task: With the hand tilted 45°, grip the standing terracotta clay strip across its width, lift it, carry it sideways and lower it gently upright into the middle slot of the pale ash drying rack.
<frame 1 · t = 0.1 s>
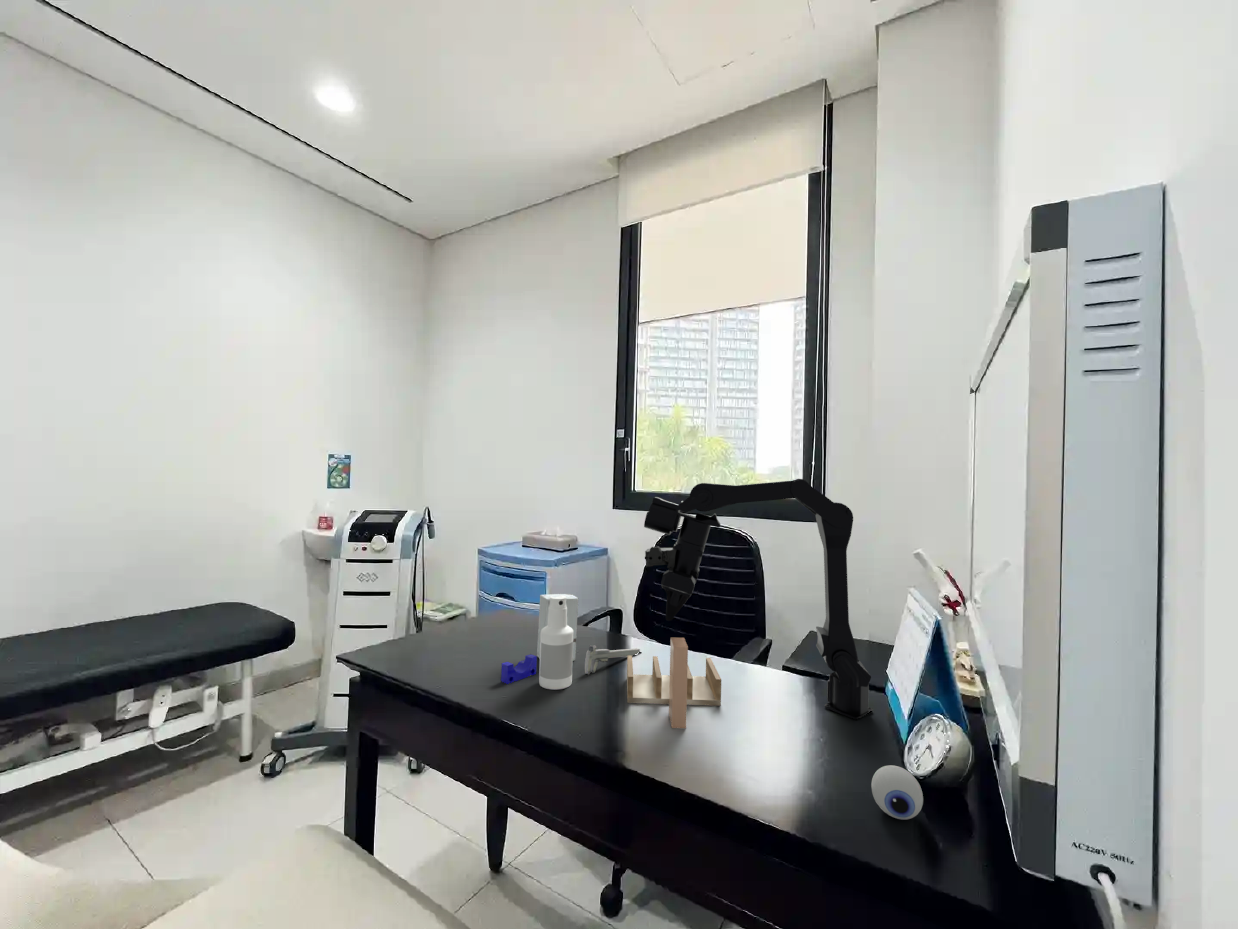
hand: (670, 614, 107), 15 cm above the table, tool pointing down, fingers open, 9 cm apart
caliper: (615, 664, 121), on the table
skincare box: (556, 659, 123), on the table
cable holder: (516, 678, 111), on the table
rack: (671, 691, 105), on the table
spray bottle: (555, 684, 108), on the table
eyeball: (896, 816, 68), on the table
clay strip: (677, 721, 93), on the table
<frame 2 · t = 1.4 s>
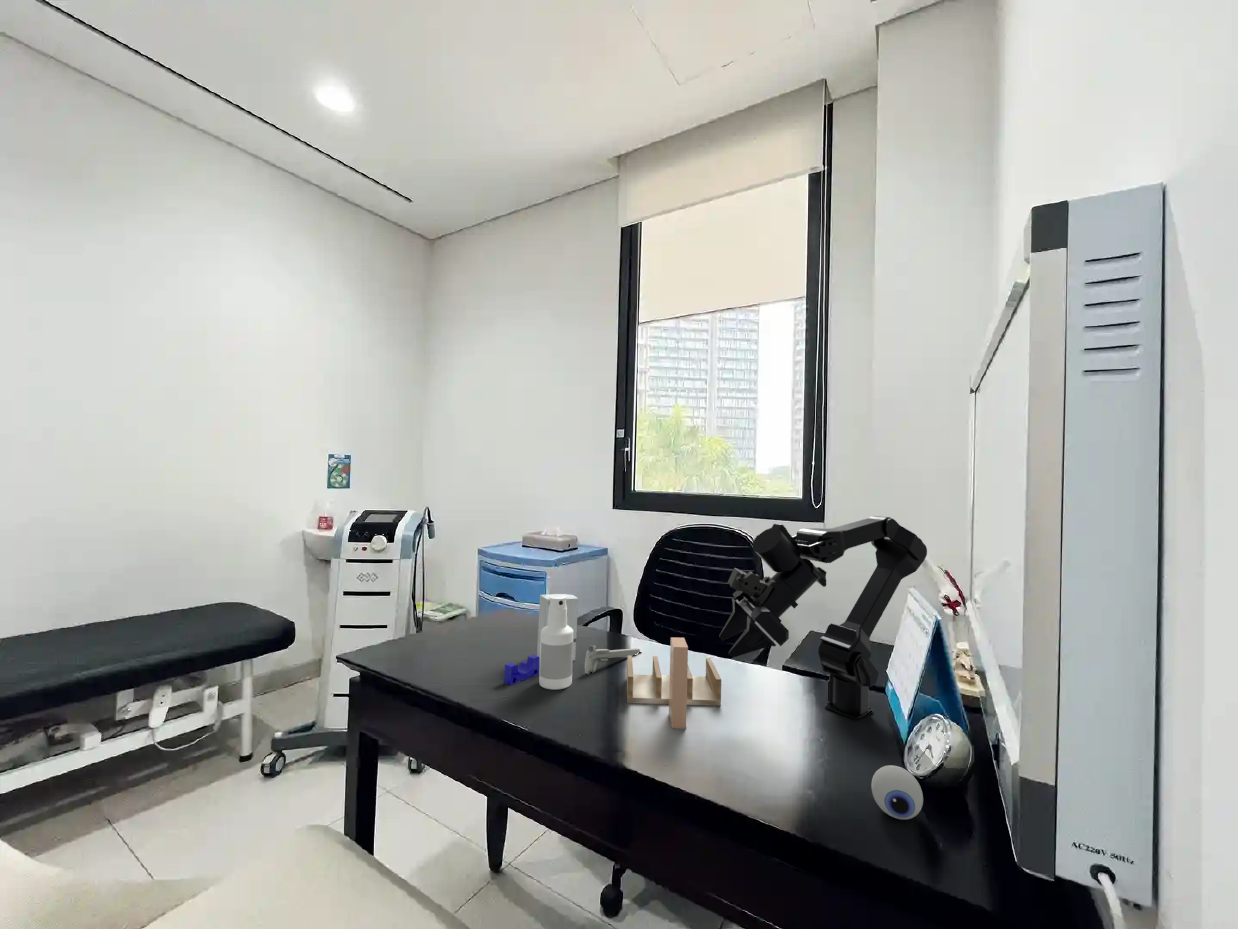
hand: (725, 646, 93), 13 cm above the table, tool tilted 45°, fingers open, 9 cm apart
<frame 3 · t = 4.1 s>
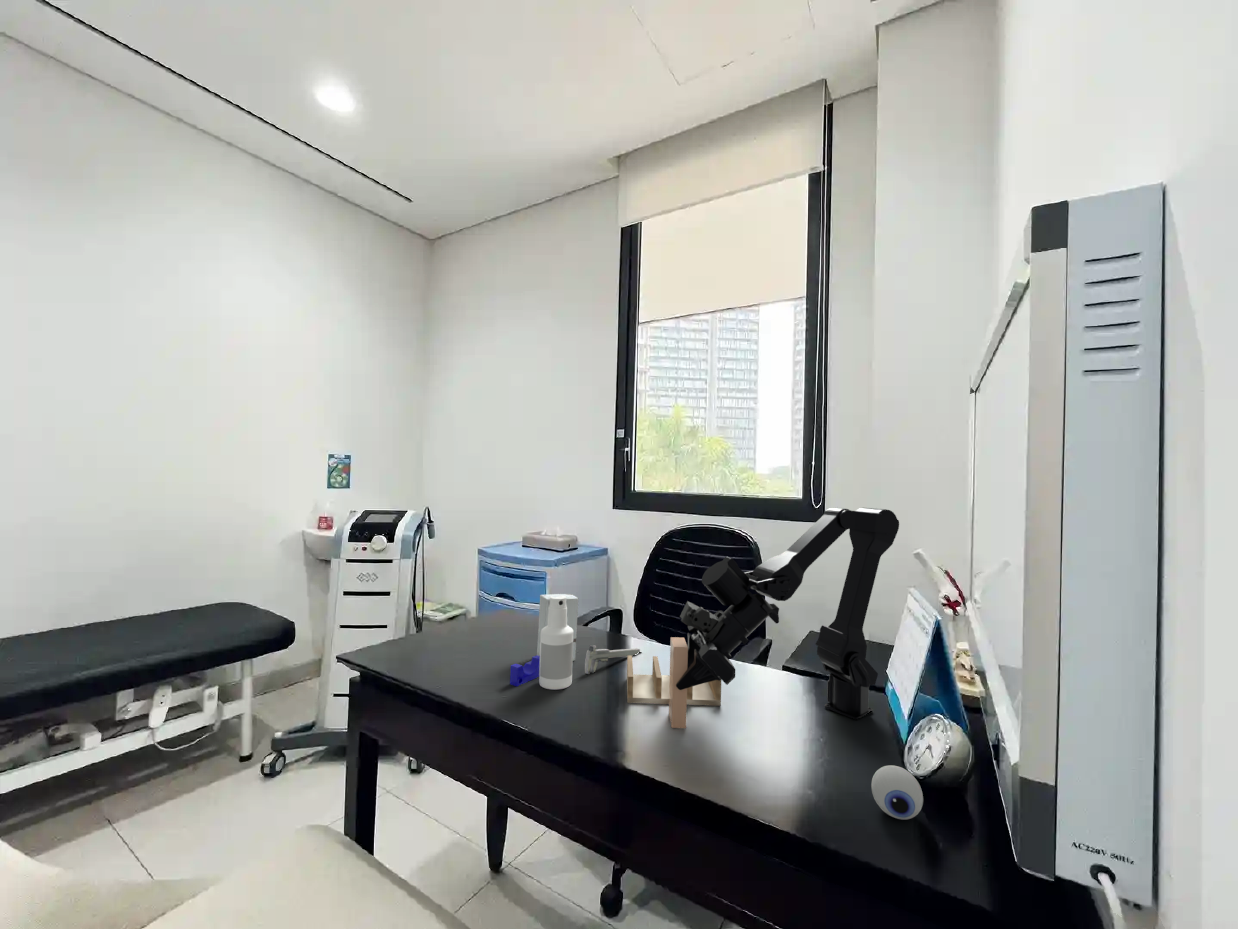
hand: (675, 681, 93), 7 cm above the table, tool tilted 45°, fingers closed on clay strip, 5 cm apart
cable holder: (524, 680, 110), on the table
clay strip: (677, 720, 93), on the table, touching gripper
everything else where it was.
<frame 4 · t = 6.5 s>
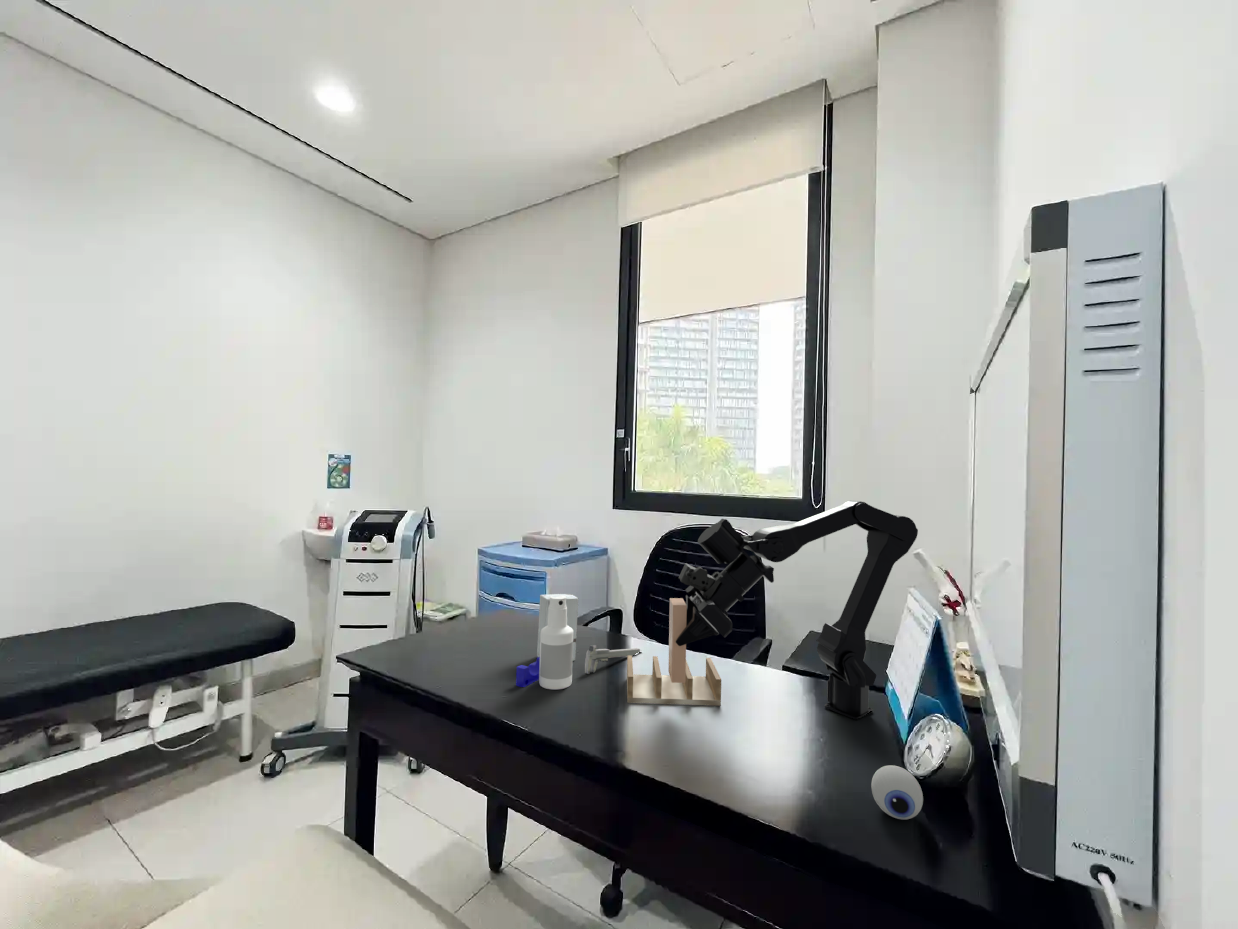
hand: (675, 639, 97), 13 cm above the table, tool tilted 45°, fingers closed on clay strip, 5 cm apart
cable holder: (529, 681, 110), on the table
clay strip: (676, 676, 97), point 6 cm above the table, touching gripper
everything else where it was.
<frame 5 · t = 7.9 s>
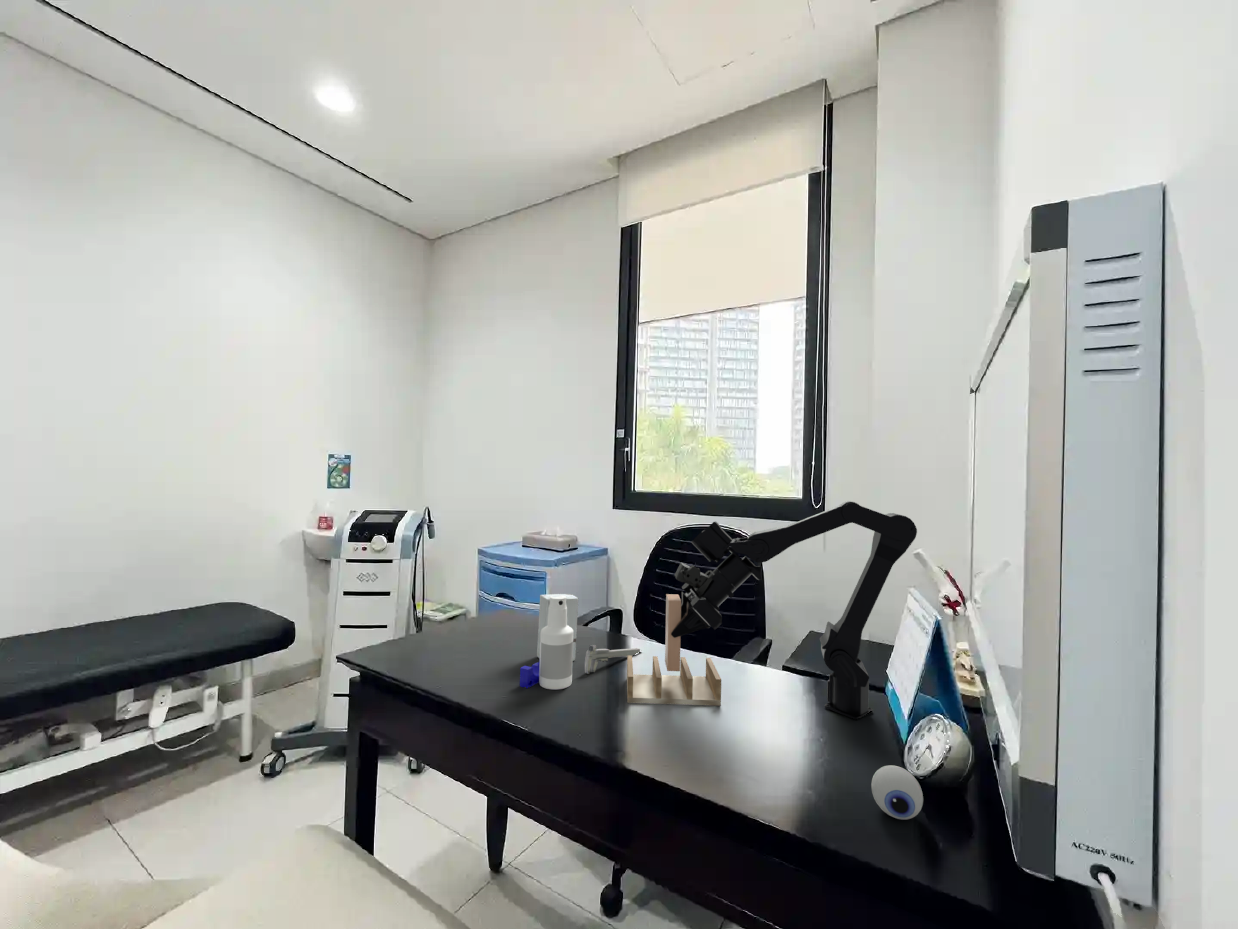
hand: (671, 631, 106), 12 cm above the table, tool tilted 45°, fingers closed on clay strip, 5 cm apart
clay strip: (672, 666, 105), point 5 cm above the table, touching gripper
when the fingers open (8 cm above the table, at t = 9.0 s): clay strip stays where it is, resting on rack.
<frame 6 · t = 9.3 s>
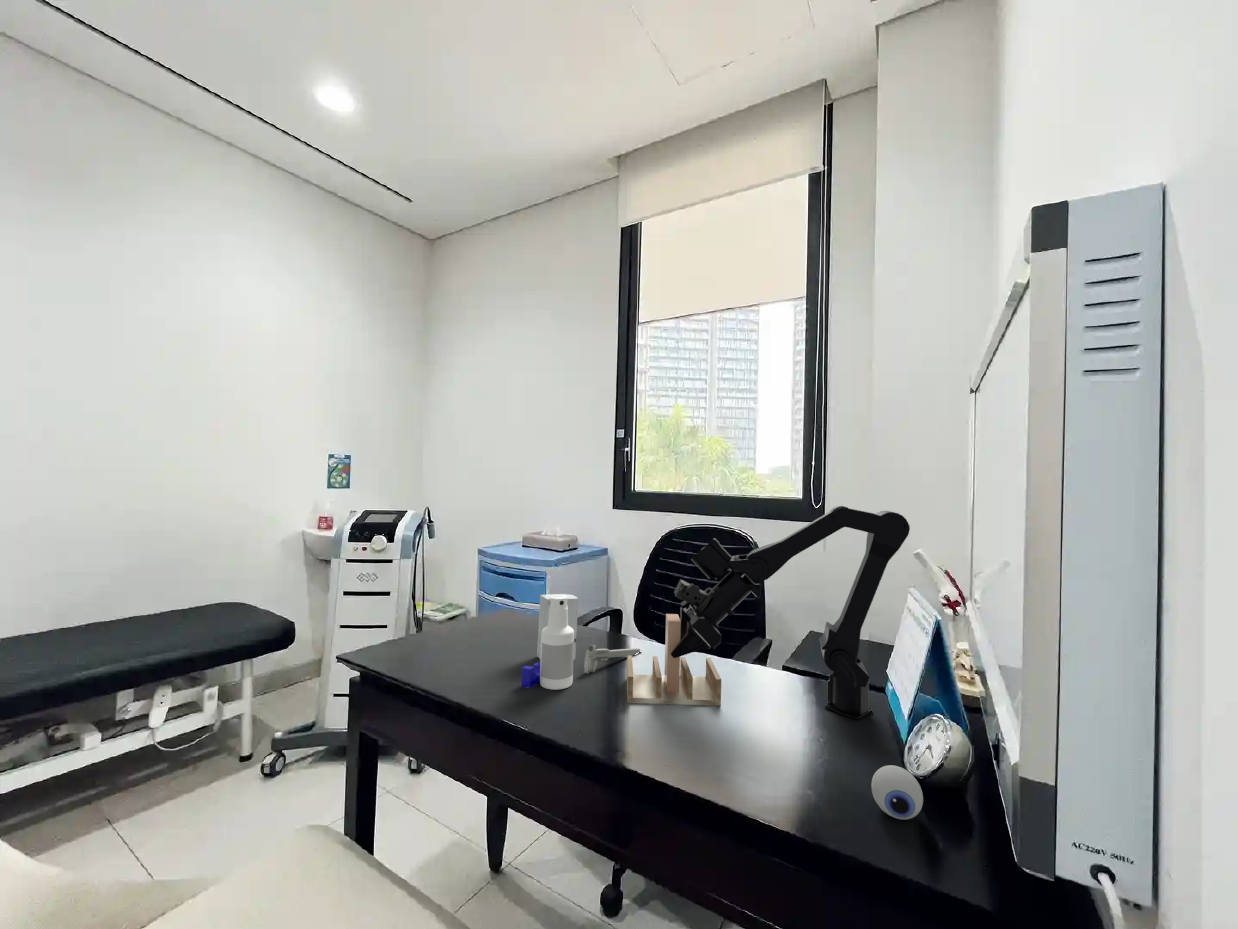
hand: (670, 649, 106), 9 cm above the table, tool tilted 45°, fingers open, 8 cm apart
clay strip: (671, 686, 105), point 1 cm above the table, touching rack
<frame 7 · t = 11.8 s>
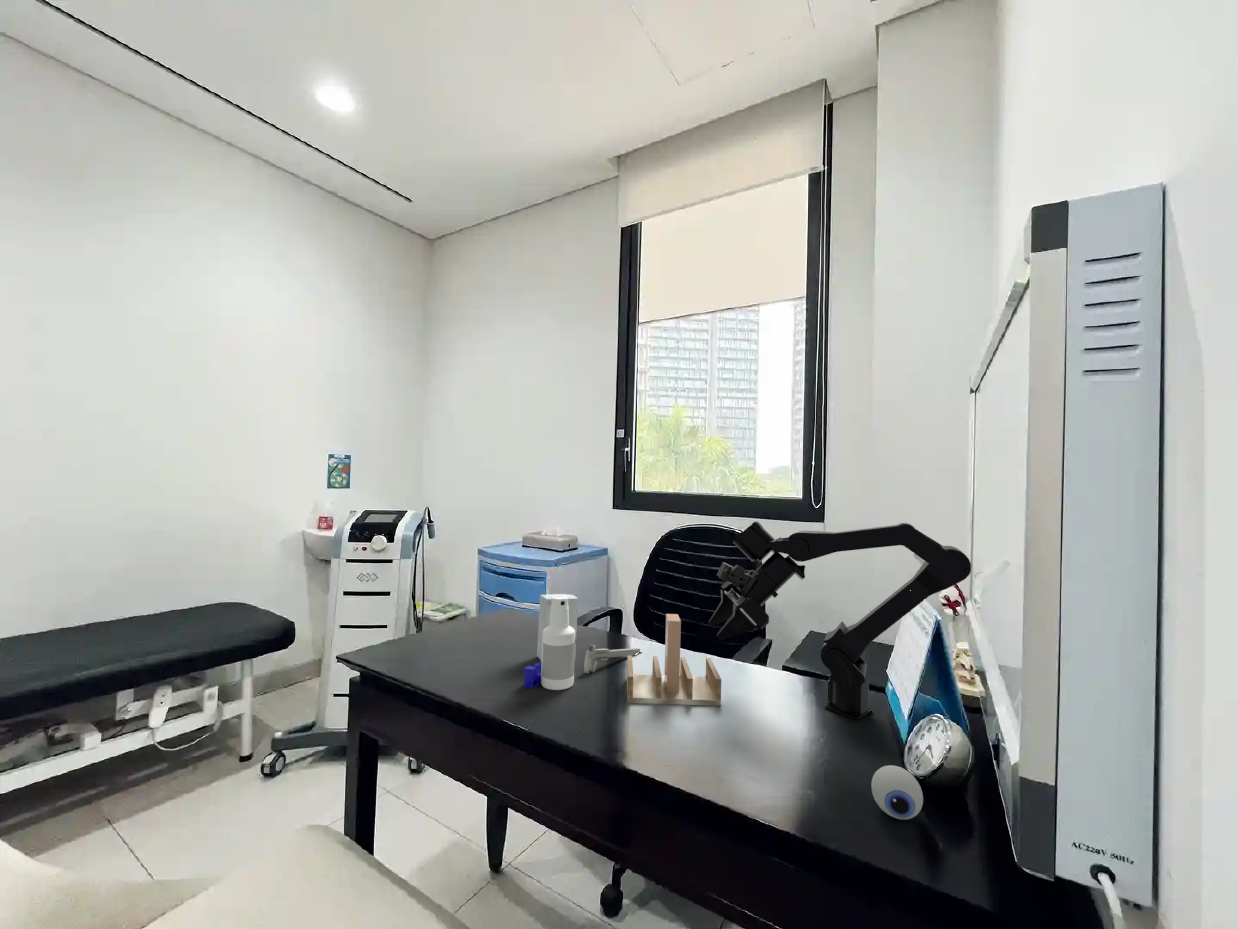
hand: (713, 631, 106), 12 cm above the table, tool tilted 45°, fingers open, 9 cm apart
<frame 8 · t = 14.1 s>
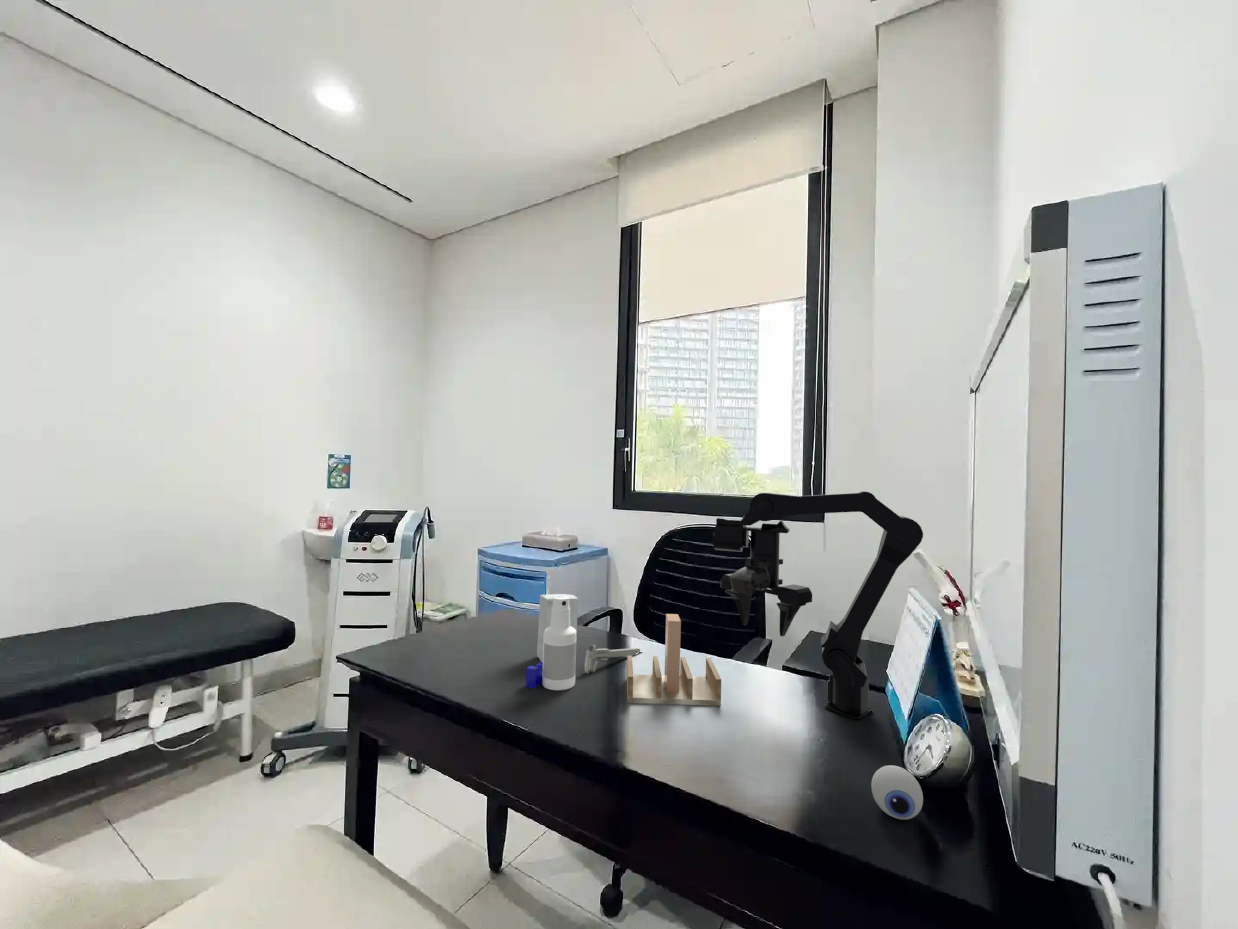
hand: (763, 630, 105), 13 cm above the table, tool pointing down, fingers open, 9 cm apart
at the end: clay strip 0.1 cm off-centre on the rack, point 1.0 cm above the rack's base; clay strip tilted 0°; the gripper is holding nothing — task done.
